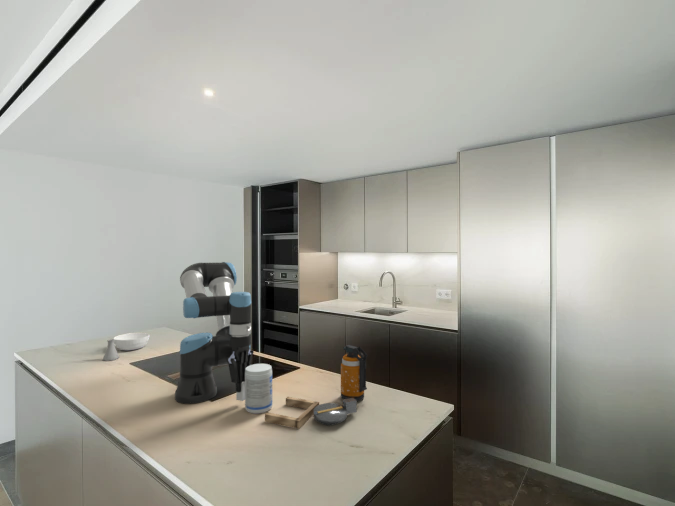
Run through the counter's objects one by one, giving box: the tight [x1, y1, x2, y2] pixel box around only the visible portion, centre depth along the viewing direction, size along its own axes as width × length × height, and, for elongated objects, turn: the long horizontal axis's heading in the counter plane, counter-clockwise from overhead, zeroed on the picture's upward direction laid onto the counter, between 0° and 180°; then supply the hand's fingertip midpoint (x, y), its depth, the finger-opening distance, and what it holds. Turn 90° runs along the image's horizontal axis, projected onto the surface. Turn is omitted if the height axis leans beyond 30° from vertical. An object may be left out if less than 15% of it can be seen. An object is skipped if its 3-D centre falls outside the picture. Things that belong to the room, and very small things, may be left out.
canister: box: [340, 344, 368, 402], centre depth 133 cm, size 9×11×20 cm
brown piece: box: [264, 396, 320, 430], centre depth 120 cm, size 13×15×2 cm
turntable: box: [313, 398, 357, 425], centre depth 117 cm, size 15×11×4 cm
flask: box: [102, 338, 120, 362], centre depth 182 cm, size 7×7×10 cm
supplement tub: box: [244, 363, 273, 414], centre depth 125 cm, size 10×10×15 cm
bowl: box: [112, 332, 151, 351], centre depth 202 cm, size 18×18×7 cm
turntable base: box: [321, 423, 339, 426], centre depth 116 cm, size 7×7×1 cm
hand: (240, 399), depth 127 cm, fingers closed
